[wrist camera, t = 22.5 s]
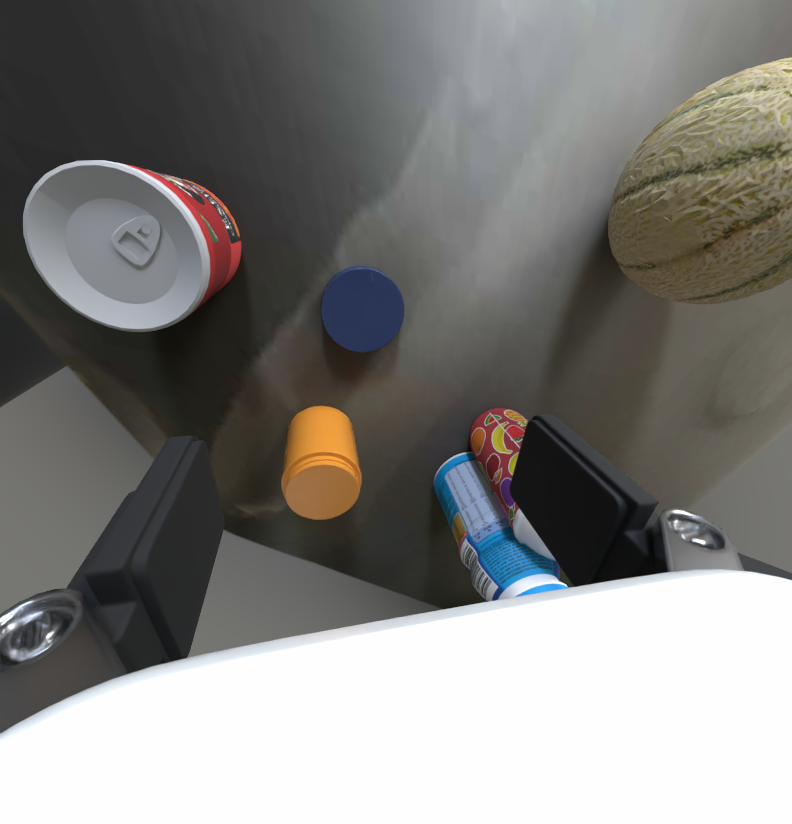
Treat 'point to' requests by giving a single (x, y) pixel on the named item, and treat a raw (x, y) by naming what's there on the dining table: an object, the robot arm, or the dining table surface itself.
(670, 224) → the cantaloupe
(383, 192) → the dining table surface
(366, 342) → the lid
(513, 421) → the smoothie
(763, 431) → the dining table surface
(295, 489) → the jar
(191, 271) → the canned food
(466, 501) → the beverage bottle
